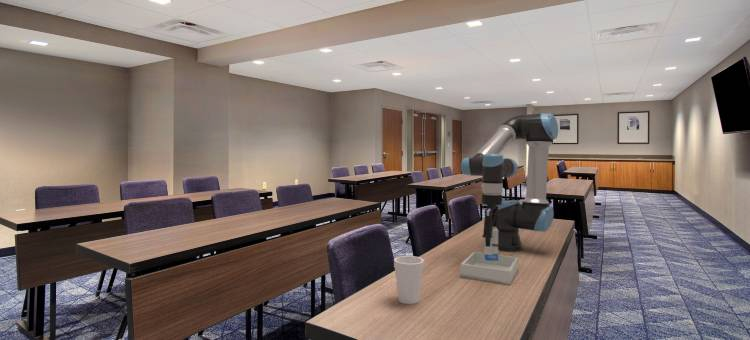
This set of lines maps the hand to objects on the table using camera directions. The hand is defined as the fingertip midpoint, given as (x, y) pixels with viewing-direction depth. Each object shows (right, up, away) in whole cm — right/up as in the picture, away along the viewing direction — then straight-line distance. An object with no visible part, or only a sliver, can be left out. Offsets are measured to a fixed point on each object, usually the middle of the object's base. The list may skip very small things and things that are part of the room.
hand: (490, 251), depth 152 cm
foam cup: (-34, -10, -27) cm, 45 cm away
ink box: (0, -3, 0) cm, 3 cm away
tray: (0, -9, 0) cm, 9 cm away
